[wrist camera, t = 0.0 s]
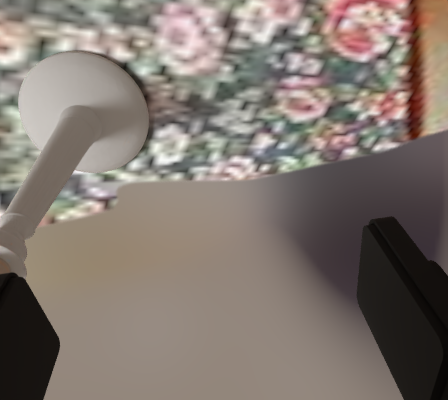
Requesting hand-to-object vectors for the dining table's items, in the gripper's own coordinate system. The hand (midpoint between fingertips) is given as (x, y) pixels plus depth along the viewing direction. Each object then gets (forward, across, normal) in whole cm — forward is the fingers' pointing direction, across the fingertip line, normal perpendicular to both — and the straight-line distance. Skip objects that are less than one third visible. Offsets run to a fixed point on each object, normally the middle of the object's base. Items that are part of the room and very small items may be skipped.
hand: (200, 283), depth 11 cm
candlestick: (+32, +12, +5) cm, 34 cm away
